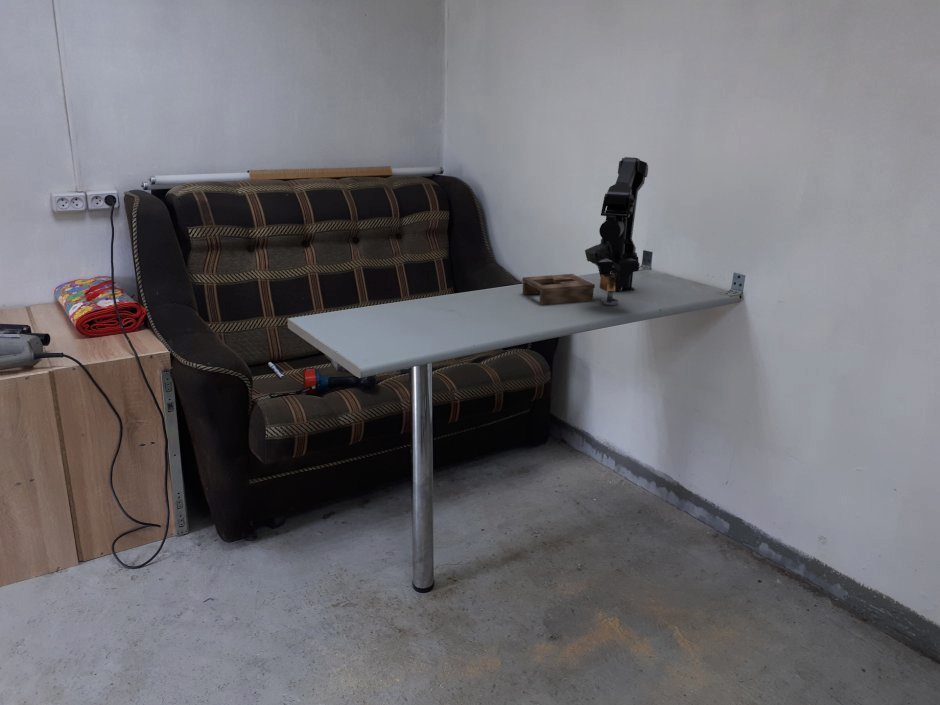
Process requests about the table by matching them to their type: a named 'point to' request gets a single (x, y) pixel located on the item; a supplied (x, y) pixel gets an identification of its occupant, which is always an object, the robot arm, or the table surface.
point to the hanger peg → (608, 289)
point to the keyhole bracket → (559, 288)
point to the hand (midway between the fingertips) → (610, 288)
